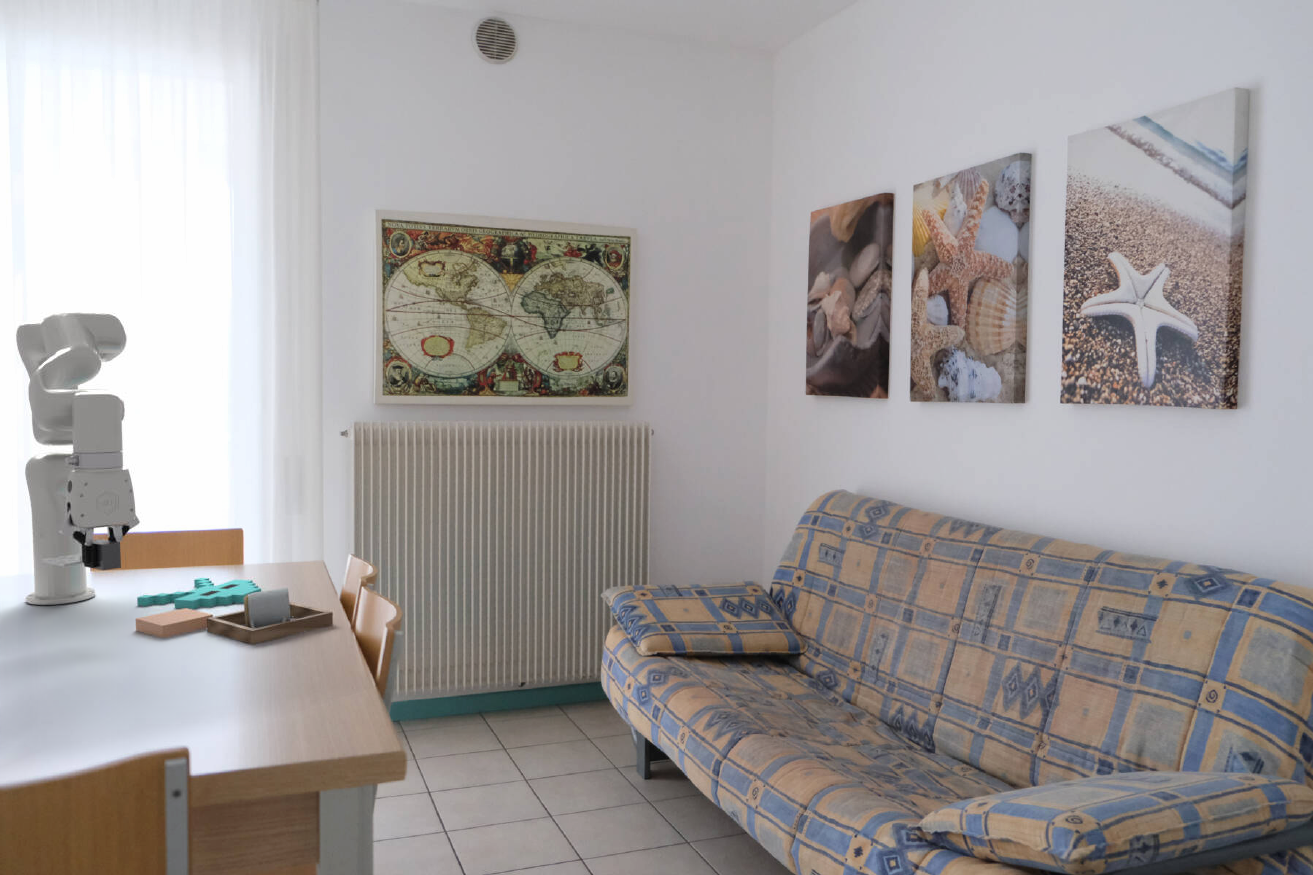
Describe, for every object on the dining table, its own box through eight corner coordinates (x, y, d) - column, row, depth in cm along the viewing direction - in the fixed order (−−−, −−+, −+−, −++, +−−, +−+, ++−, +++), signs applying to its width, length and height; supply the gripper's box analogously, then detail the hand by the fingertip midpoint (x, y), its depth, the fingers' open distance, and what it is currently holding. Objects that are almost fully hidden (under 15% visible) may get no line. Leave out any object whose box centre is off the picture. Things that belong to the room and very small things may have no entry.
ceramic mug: (244, 626, 185) (243, 587, 184) (289, 622, 188) (288, 583, 187) (245, 641, 175) (244, 600, 174) (293, 636, 178) (292, 596, 178)
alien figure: (137, 607, 200) (222, 613, 196) (137, 597, 200) (221, 602, 196) (201, 587, 220) (279, 591, 216) (200, 577, 220) (279, 581, 216)
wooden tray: (206, 631, 181) (206, 618, 181) (287, 613, 195) (286, 601, 195) (252, 644, 172) (252, 630, 172) (332, 624, 186) (332, 612, 186)
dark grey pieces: (132, 565, 170) (131, 540, 170) (90, 572, 164) (89, 546, 164) (82, 556, 181) (81, 532, 181) (41, 561, 175) (40, 537, 175)
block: (135, 618, 181) (162, 625, 176) (186, 608, 189) (212, 614, 185) (135, 632, 181) (162, 639, 176) (186, 621, 190) (213, 628, 185)
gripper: (57, 466, 159) (61, 575, 160) (156, 460, 172) (158, 560, 174) (37, 463, 163) (41, 570, 165) (135, 457, 177) (137, 555, 178)
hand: (101, 564), depth 169 cm, fingers closed on dark grey pieces, 3 cm apart
